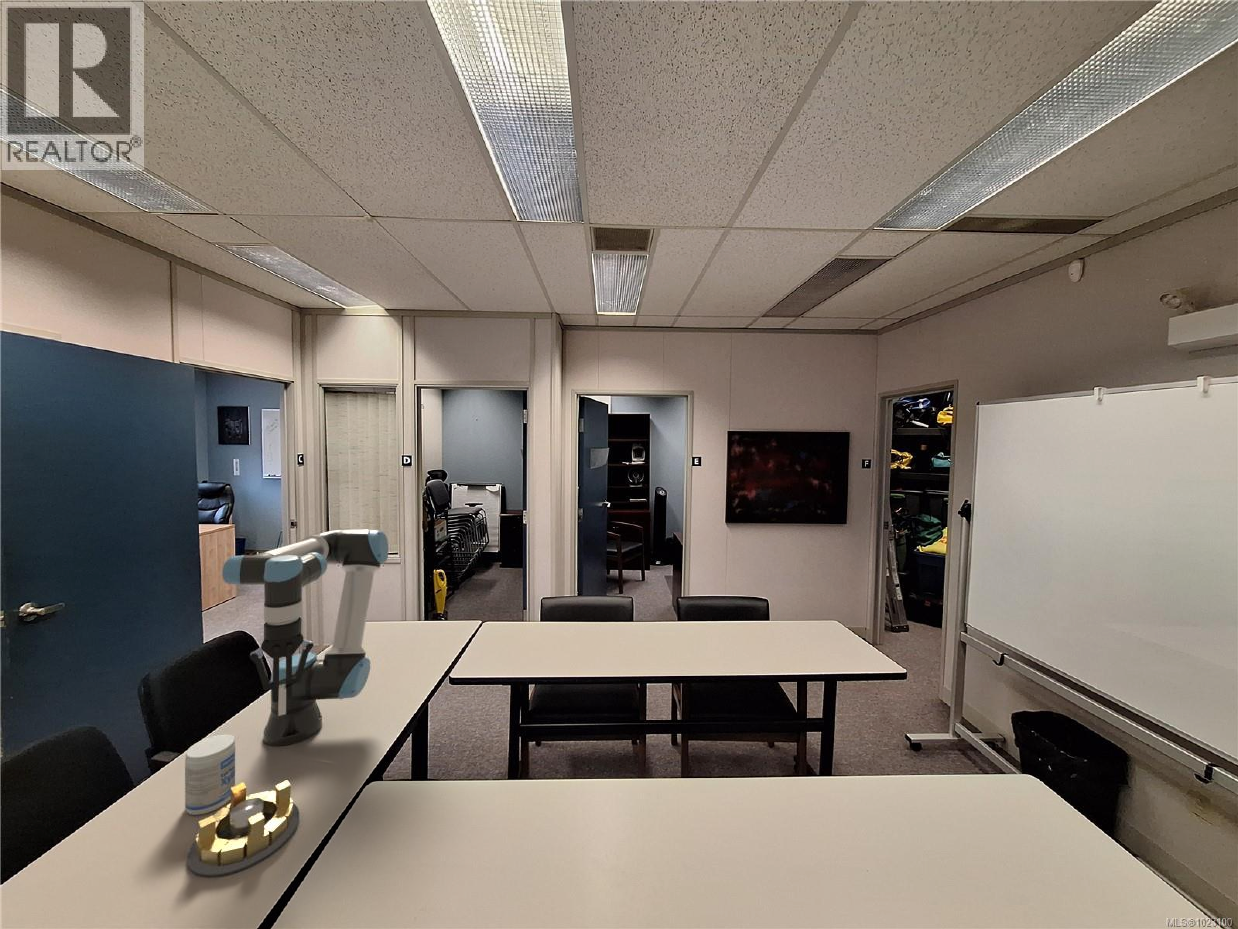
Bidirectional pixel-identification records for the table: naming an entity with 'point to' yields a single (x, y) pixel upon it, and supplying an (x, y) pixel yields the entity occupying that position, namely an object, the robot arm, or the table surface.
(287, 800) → the yellow block ring
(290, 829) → the spindle base
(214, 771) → the supplement tub
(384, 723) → the table surface
